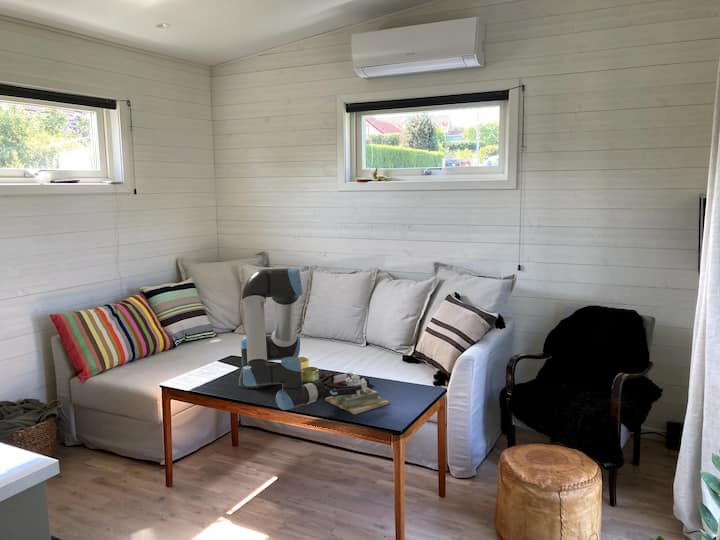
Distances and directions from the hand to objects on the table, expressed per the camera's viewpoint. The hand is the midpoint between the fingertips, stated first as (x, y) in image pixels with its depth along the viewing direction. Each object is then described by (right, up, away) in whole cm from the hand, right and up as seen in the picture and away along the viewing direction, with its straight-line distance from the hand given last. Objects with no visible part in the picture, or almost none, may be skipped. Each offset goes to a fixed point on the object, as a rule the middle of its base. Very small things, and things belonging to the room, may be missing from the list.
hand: (356, 380), depth 247 cm
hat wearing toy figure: (0, -8, +2) cm, 9 cm away
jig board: (0, -9, +2) cm, 10 cm away
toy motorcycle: (-8, -7, +22) cm, 24 cm away
